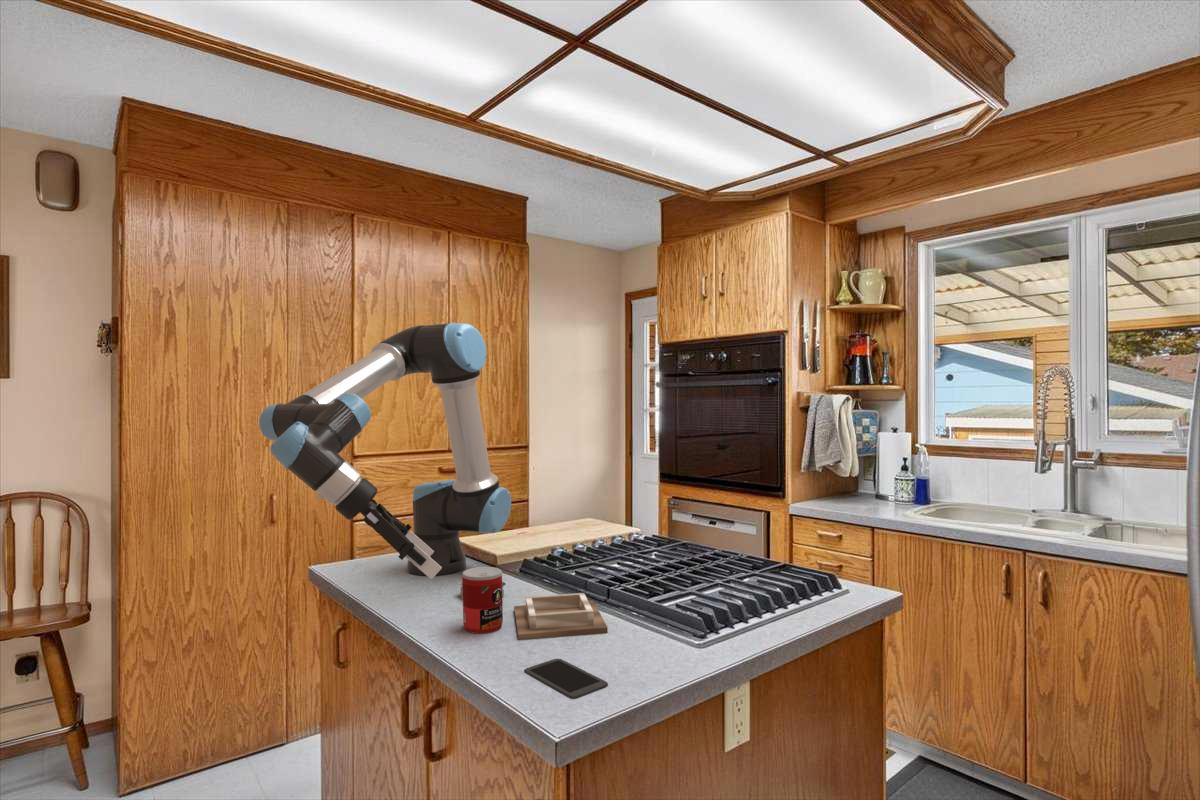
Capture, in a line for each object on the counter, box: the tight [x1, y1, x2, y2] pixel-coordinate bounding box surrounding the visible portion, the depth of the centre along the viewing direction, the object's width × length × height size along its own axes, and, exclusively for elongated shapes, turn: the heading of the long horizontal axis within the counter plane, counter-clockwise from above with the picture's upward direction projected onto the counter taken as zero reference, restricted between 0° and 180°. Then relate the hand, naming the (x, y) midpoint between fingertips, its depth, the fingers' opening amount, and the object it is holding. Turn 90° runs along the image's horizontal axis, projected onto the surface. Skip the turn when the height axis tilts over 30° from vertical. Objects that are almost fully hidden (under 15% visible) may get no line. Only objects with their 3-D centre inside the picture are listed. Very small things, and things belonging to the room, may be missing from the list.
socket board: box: [513, 592, 609, 641], centre depth 135 cm, size 17×17×4 cm
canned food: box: [461, 566, 504, 634], centre depth 132 cm, size 8×8×11 cm
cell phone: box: [523, 658, 609, 700], centre depth 108 cm, size 7×14×1 cm, turn 40°
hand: (432, 564), depth 129 cm, fingers open, 13 cm apart
